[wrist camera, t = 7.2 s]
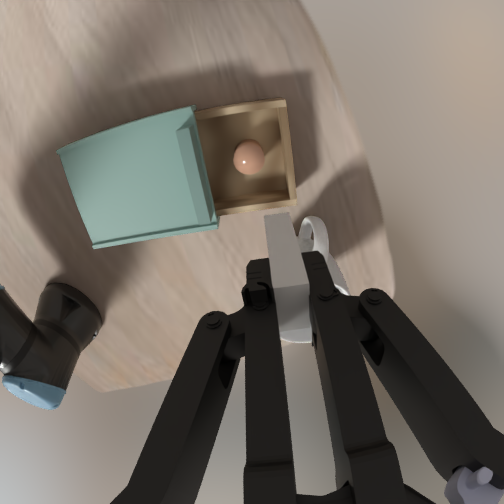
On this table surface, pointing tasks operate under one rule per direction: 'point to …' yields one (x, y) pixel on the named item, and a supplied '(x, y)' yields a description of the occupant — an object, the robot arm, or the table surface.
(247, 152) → the peach egg shape
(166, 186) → the lid
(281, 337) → the mug
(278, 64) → the table surface
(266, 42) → the table surface
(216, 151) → the open brown box
